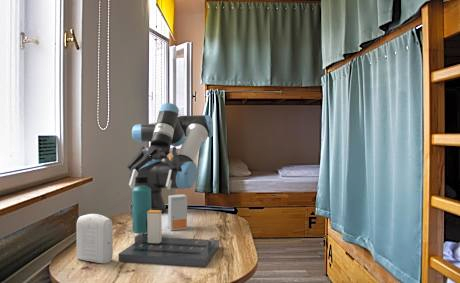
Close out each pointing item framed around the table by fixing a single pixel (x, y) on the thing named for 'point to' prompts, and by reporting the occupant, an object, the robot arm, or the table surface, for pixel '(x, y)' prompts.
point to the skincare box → (177, 212)
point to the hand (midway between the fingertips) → (149, 187)
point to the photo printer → (94, 238)
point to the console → (171, 251)
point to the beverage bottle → (141, 205)
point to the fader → (154, 226)
